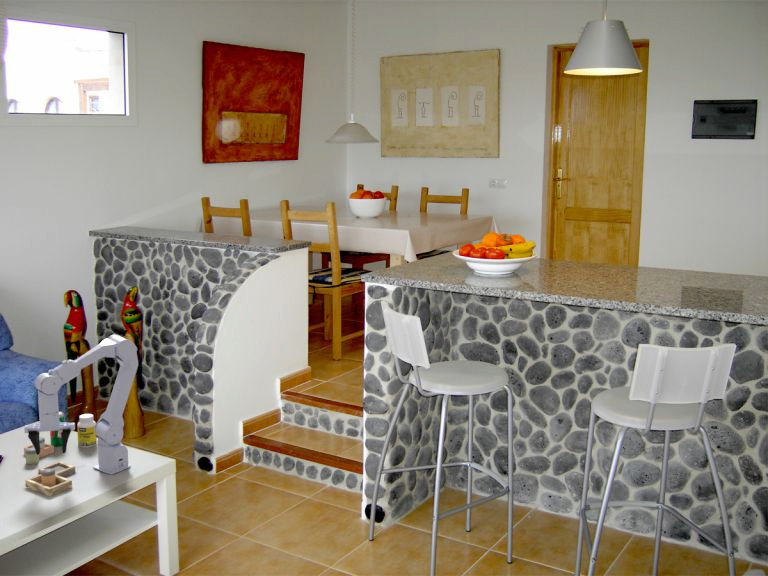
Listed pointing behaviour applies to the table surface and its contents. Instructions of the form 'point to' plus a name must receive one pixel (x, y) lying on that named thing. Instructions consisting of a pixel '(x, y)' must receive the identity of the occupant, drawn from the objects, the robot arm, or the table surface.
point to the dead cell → (41, 443)
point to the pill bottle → (86, 431)
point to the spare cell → (31, 456)
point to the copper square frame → (43, 450)
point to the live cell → (48, 477)
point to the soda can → (57, 433)
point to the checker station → (60, 472)
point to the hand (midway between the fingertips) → (51, 452)
